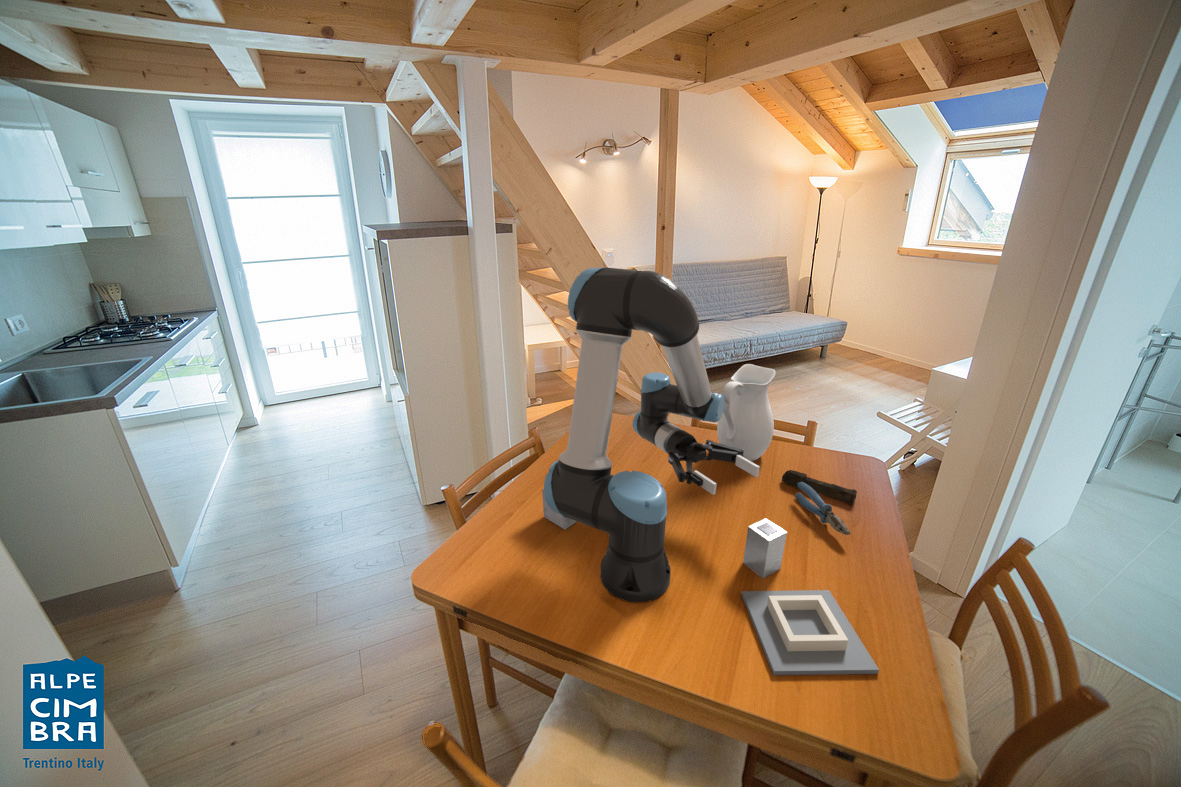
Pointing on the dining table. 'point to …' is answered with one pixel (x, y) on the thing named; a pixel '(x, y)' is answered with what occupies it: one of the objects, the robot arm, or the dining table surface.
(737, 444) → the pitcher
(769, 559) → the tall square post
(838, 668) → the cradle
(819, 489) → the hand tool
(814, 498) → the pliers
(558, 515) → the medicine box
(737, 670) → the dining table surface
